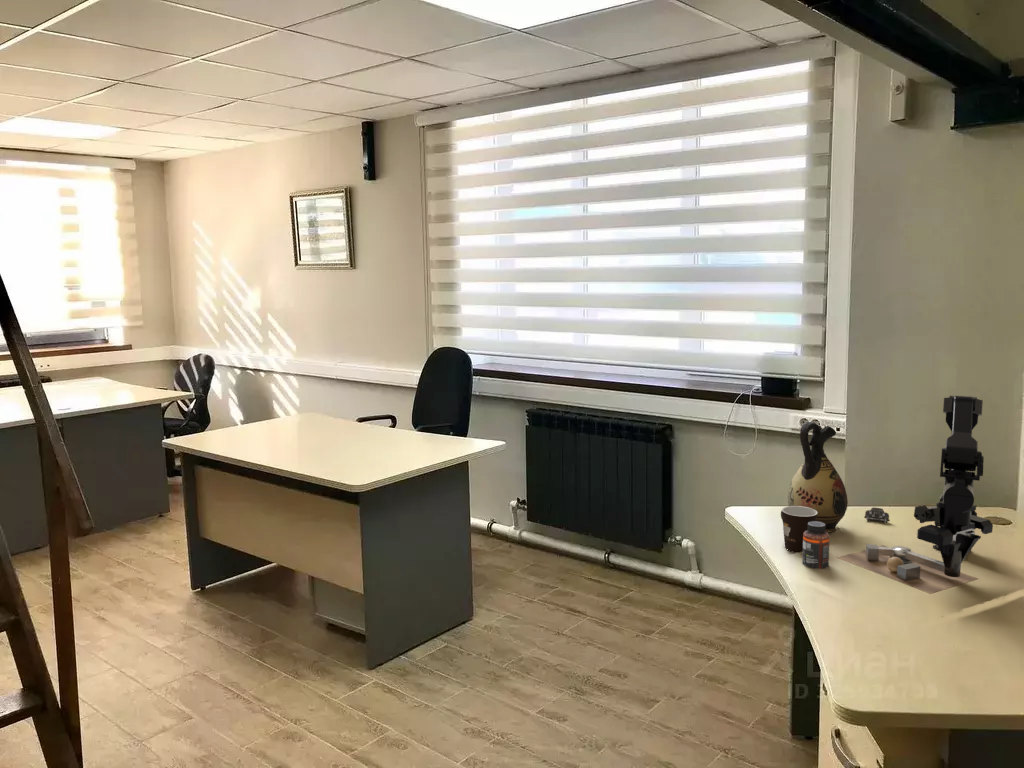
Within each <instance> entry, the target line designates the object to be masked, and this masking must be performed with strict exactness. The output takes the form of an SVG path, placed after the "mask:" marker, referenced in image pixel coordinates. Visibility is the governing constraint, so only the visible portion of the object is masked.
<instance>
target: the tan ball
mask: <svg viewBox="0 0 1024 768" xmlns="http://www.w3.org/2000/svg"><path fill="white" fill-rule="evenodd" d="M899 565H904V563H903V561H902V560H901V559H900V558H898V557H891V558H889V559H888V561H887V567H888V569H889V570H890V571H892V572H895V573H897V567H898V566H899Z"/></svg>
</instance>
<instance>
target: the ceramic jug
mask: <svg viewBox="0 0 1024 768" xmlns="http://www.w3.org/2000/svg"><path fill="white" fill-rule="evenodd" d="M799 431H800V432H799V441H800V445H801V447H802V451H803V452H802V453H803V456H804V461H803V463H802V464H801V465H800V467H799V468H798V470H797V471H796V472H795V474H794V476H793V477H792V480H791V481H790V484H789V488H788V491H787V492H788V493H787V505H788V506H802V507H808V508H811V509H814V510H816V511H817V512H818V513H817V519H816V521H817V522H822V523H824V524H825V525H826V526H825V528H826V529H825V532H827V533H828V534H829V533H833V532H836V531H837V528H836V526H837V525H838V524H839V523H840V521H841V520H842V519H843V518H844V516H845V515H846V512H847V510H848V494H847V491H846V486H845V484H844V482H843V479H842V478H841V476H840V474H839V472H838V471H837V469H836V468H835V466H834V465H833V463H832V462H831V460H829V458H828V456H827V455H826V453H825V450H824V445H825V443H826V442H828V440H830V439H831V438H833V437H836V434H837V432H836V430H835V429H834V428H833V427H831V426H830V425H826V426H824V427H823V428H822V426H821V425H819V424H817V423H815V422H812V421H809V422H808V421H807V422H805V423H803V424H802V425H801V427H800V430H799ZM811 431H812V432H811ZM810 432H811V433H812V435H811V437H810V438H809V433H810Z"/></svg>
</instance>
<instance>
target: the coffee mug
mask: <svg viewBox="0 0 1024 768" xmlns="http://www.w3.org/2000/svg"><path fill="white" fill-rule="evenodd" d="M817 513H818V512H817V511H816V510H814V509H811V508H808V507H802V506H789V505H788V506H784V507H783V508H782V509H781V511H780V518H781V521H782V528H783V538H784V540H783V541H784V542H783V543H784V549H785V548H786V549H785V550H787V549H788V550H790V551H789V552H791V551H793V552H792V553H796V552H798V553H803V534H804V532H805V531H806V530H807V529H808V523H809V522H812V521H816V519H817ZM788 550H787V551H788Z"/></svg>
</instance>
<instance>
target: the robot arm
mask: <svg viewBox="0 0 1024 768" xmlns="http://www.w3.org/2000/svg"><path fill="white" fill-rule="evenodd" d="M983 403H984V401H983V399H978V397H977V396H972V395H971V396H969V395H968V396H967V395H949V397H944V398H943V408H942V414H945V422H946V424H947V426H948V427H949V429H950V431H951V433H950V434H951V435H950V436H949V437H947V438H946V439H945V447H942V448H941V457H940V458H941V459H940V460H941V461H940V469H939V477H941V478H944V481H943V492H942V493H941V494H940V496H939V502H936V505H934V506H927V505H925V504H924V505H917V506H914V512H913V513H914V514H913V517H914V518H915V520H916V521H919V524H925V523H928V522H929V523H930V522H934V524H928V525H924V526H921V527H919V528H918V529H917V533H916V535H917V537H916V538H917V540H920V541H924V542H927V543H931V544H933V545H932V548H933V549H936V550H939V552H940V555H941V558H942V562H944V565H945V567H947V568H950V567H951V565H952V563H953V561H954V558H955V556H956V553H957V551H958V549H959V548H960V549H962V558H961V564H963V562H964V560H965V559H966V558H967V556H968V554H969V553H970V552H971V551H972V549H973V547H974V546H975V545H976V543H977V542H979V540H980V539H981V538H982V536H981V535H979V534H976V531H975V530H976V529H978V530H980V532H981V533H982V535H988V534H992V533H993V529H994V528H993V527H994V524H993V523H992V522H991V520H990V519H988V518H984V517H981V516H979V515H978V513H977V512H976V510H977V505H975V504H974V503H975V495H974V494H975V493H974V483H975V481H980V480H981V478H980V477H983V476H984V455H983V453H982V451H981V450H980V451H979V450H978V449H979V444H978V443H979V442H978V441H977V439H975V438H974V437H973V429H975V428H976V426H977V425H978V424H979V423H978V422H979V421H978V420H979V417H982V415H983V405H984V404H983ZM944 469H945V470H944Z"/></svg>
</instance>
